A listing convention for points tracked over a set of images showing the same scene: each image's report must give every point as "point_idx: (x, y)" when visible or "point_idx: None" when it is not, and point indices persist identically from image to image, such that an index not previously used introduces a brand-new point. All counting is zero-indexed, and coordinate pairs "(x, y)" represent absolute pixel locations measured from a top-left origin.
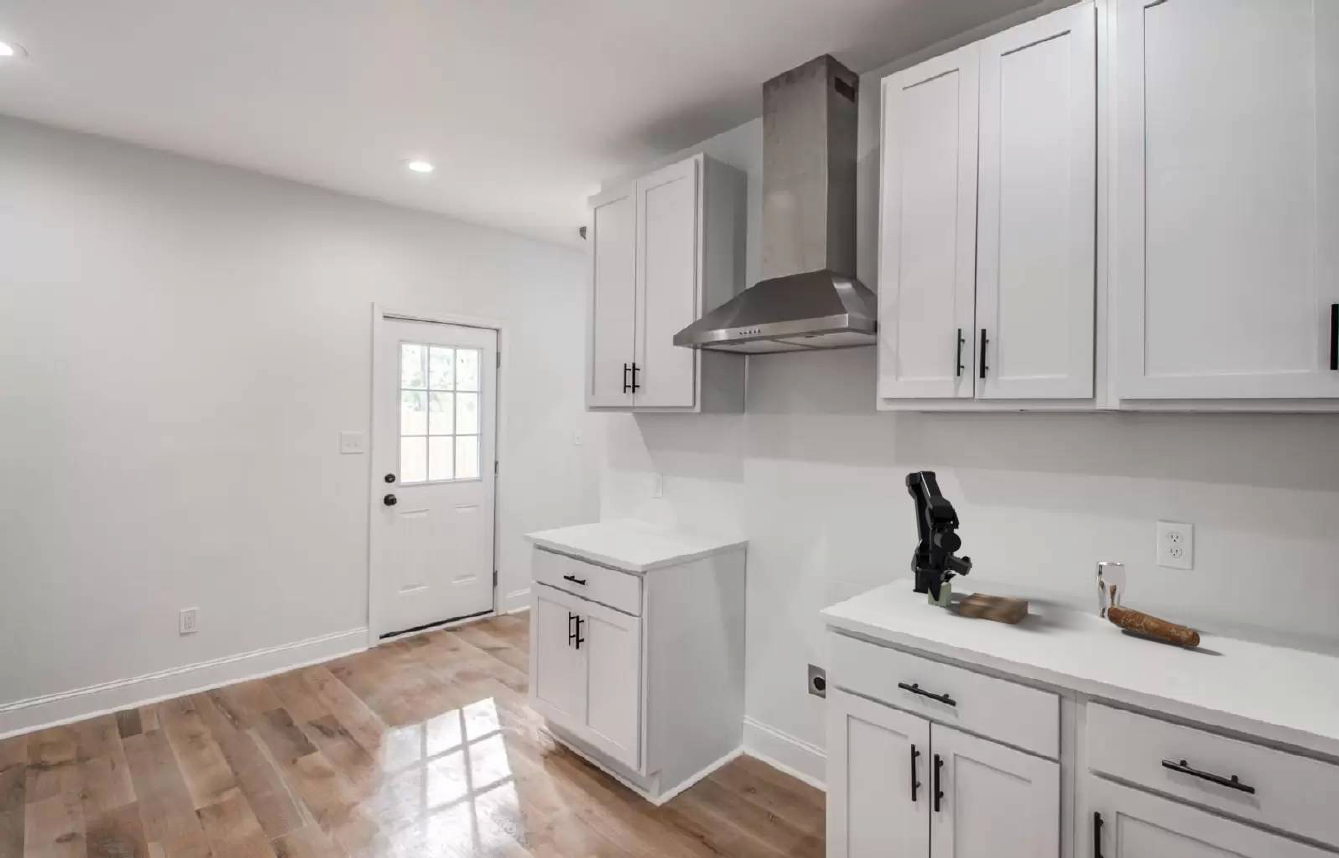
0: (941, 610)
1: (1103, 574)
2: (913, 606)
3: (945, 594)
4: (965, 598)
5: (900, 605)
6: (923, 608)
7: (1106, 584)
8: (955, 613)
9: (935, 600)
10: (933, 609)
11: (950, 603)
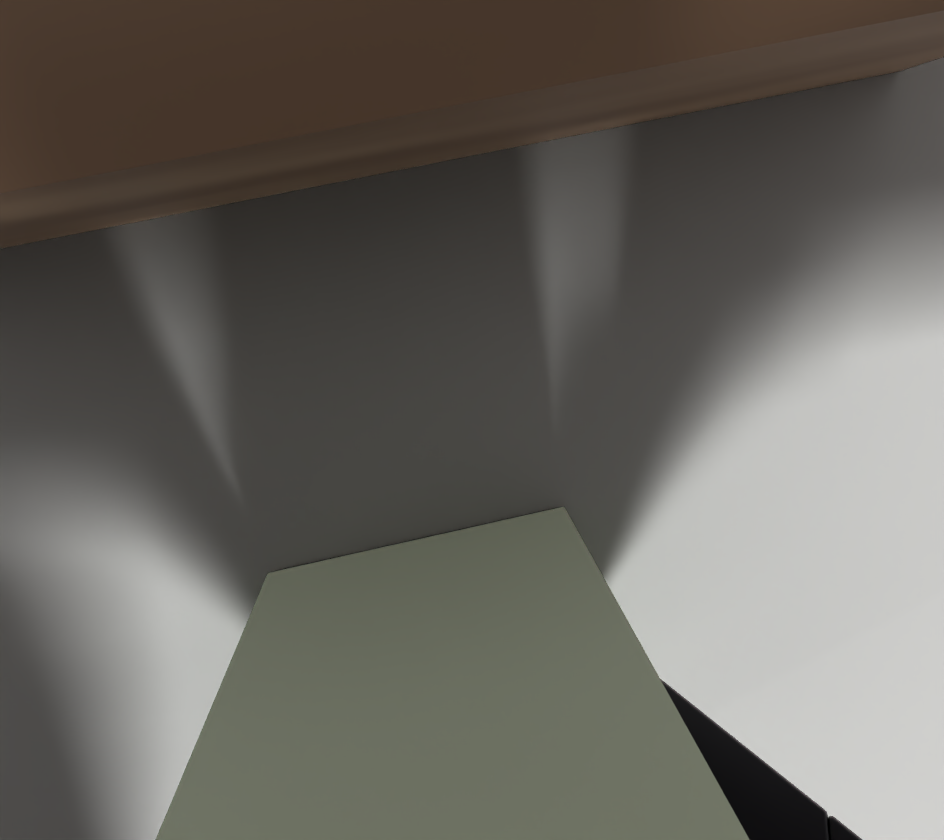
0: (828, 428)
1: None
2: (868, 735)
3: (653, 673)
4: (677, 44)
5: (921, 819)
6: (886, 624)
7: None
8: (871, 169)
9: None
10: (850, 526)
11: (313, 568)
